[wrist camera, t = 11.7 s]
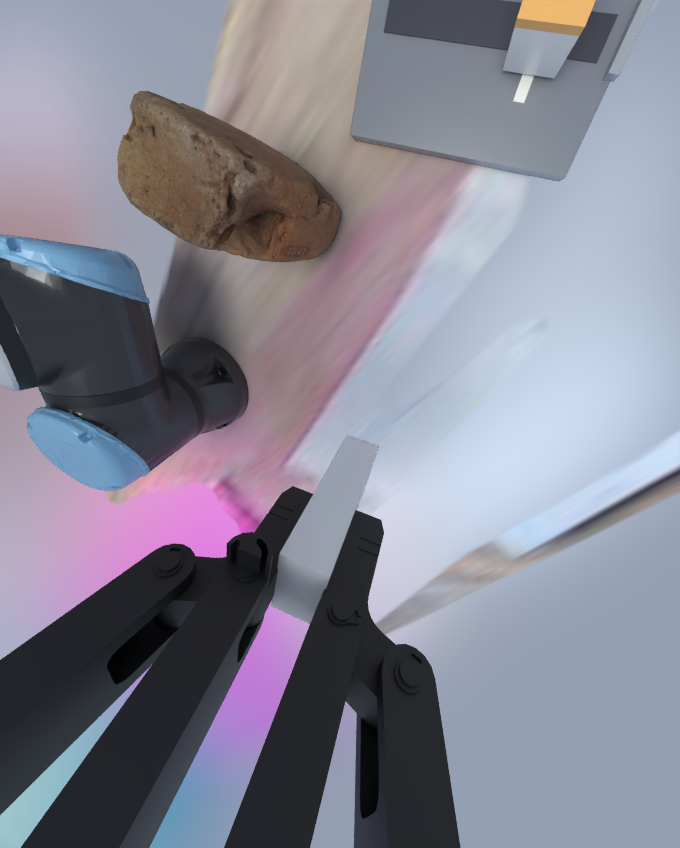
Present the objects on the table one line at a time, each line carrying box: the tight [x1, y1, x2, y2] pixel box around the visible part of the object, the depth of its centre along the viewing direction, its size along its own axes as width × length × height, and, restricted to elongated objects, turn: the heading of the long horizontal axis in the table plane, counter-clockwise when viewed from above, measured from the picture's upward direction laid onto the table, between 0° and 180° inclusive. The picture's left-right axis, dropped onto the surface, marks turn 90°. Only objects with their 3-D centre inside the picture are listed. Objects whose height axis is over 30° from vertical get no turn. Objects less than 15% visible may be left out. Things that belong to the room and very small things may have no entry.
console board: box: [350, 0, 655, 181], centre depth 25 cm, size 20×16×4 cm
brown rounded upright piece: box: [118, 91, 340, 262], centre depth 29 cm, size 11×8×20 cm
